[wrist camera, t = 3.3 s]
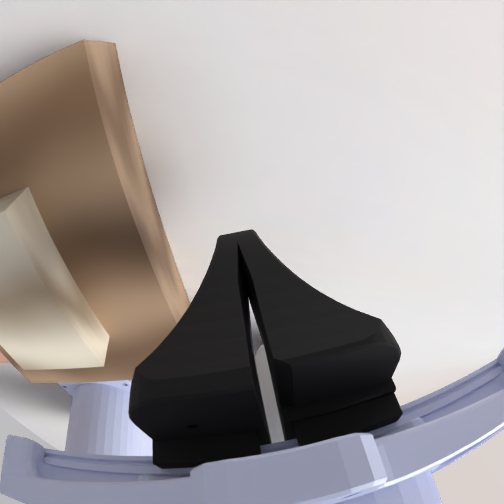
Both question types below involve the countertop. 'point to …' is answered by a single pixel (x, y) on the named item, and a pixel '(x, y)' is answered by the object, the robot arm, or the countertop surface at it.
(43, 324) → the cream rectangular block
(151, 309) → the block
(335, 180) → the countertop surface
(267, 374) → the donut
